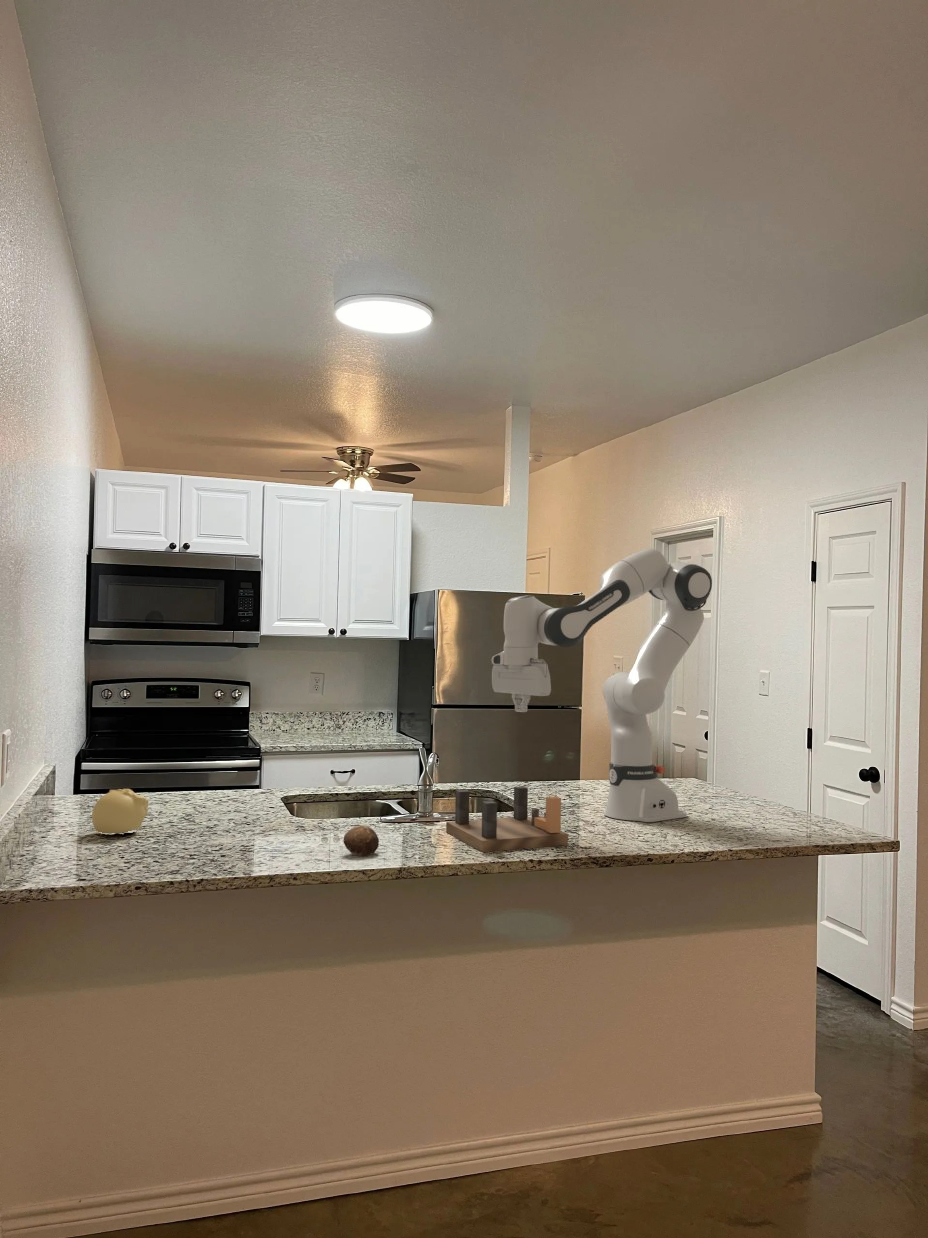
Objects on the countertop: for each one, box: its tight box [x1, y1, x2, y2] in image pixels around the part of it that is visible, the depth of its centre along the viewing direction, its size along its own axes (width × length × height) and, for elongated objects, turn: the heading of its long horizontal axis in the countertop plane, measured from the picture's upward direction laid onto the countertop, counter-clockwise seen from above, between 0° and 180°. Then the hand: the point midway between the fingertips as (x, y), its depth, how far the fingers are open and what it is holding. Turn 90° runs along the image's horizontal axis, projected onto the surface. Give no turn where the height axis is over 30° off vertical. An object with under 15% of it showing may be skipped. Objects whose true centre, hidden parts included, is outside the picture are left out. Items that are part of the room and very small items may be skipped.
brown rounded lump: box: [342, 825, 380, 857], centre depth 208 cm, size 8×8×6 cm
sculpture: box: [91, 788, 149, 833], centre depth 223 cm, size 12×12×11 cm
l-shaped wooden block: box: [534, 796, 562, 833], centre depth 222 cm, size 9×3×8 cm, turn 24°
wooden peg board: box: [445, 785, 569, 853], centre depth 225 cm, size 22×22×10 cm
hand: (521, 711), depth 240 cm, fingers closed
